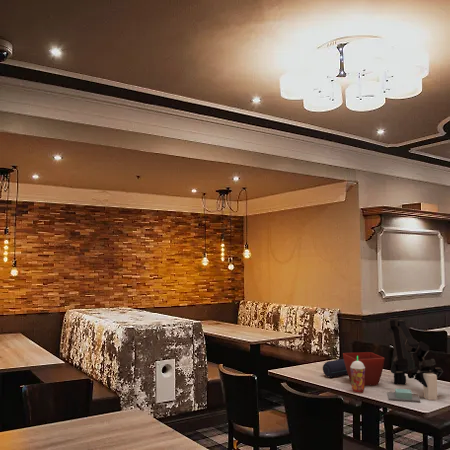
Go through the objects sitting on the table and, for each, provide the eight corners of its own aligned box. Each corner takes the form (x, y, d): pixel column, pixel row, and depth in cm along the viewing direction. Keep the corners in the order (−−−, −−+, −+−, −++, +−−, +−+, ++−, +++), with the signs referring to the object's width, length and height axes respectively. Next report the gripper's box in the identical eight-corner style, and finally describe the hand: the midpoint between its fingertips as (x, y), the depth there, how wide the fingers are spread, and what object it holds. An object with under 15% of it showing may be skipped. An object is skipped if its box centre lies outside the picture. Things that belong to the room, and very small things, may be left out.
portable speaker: (345, 371, 332) (345, 356, 332) (357, 374, 324) (357, 358, 324) (319, 376, 317) (319, 360, 318) (331, 379, 309) (331, 363, 310)
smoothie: (348, 389, 285) (347, 354, 286) (362, 389, 285) (361, 354, 287) (353, 393, 276) (352, 357, 278) (367, 393, 277) (367, 357, 279)
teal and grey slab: (388, 400, 263) (388, 392, 263) (387, 393, 277) (387, 386, 277) (420, 402, 259) (420, 394, 259) (417, 395, 272) (417, 388, 272)
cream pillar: (428, 399, 264) (428, 375, 265) (423, 397, 269) (423, 373, 270) (437, 399, 265) (436, 375, 265) (431, 397, 269) (431, 373, 270)
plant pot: (355, 388, 288) (354, 358, 290) (342, 380, 307) (342, 352, 308) (385, 386, 291) (385, 358, 293) (371, 379, 310) (370, 352, 311)
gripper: (409, 353, 271) (421, 379, 259) (440, 353, 274) (453, 377, 262) (402, 365, 278) (413, 390, 266) (432, 364, 281) (445, 389, 269)
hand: (431, 386), depth 266 cm, fingers closed on cream pillar, 5 cm apart
